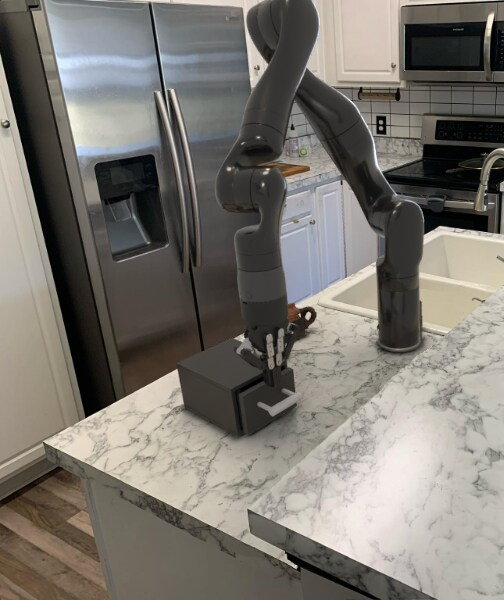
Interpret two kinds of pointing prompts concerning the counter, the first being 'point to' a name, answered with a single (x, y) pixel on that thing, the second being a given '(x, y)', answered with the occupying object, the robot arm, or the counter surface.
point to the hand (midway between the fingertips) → (273, 384)
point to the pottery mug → (301, 320)
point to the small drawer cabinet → (217, 383)
